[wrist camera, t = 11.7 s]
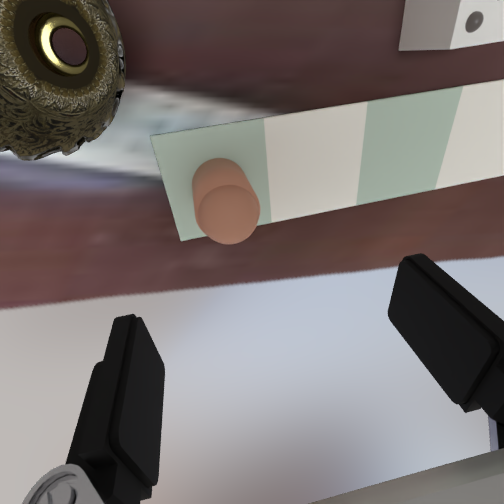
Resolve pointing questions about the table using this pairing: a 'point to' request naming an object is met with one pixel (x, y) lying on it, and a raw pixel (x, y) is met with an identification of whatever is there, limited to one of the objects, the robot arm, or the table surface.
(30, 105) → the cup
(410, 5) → the die
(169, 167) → the board
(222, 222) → the pawn
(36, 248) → the table surface
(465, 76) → the table surface
